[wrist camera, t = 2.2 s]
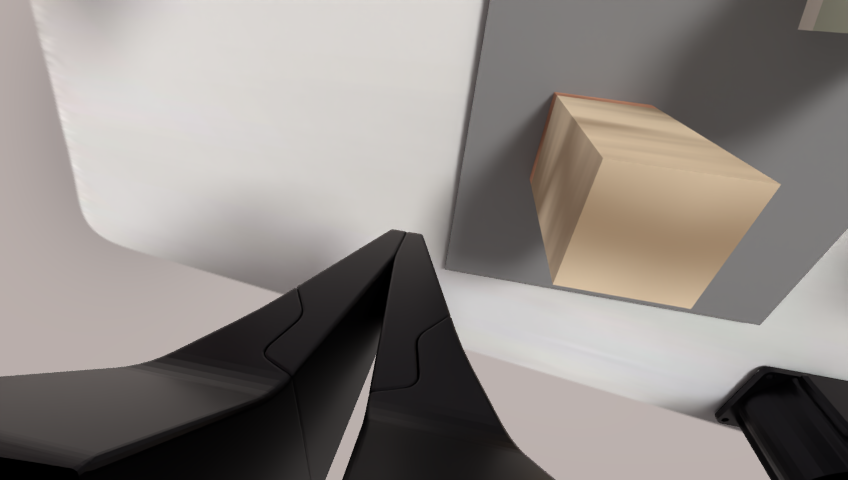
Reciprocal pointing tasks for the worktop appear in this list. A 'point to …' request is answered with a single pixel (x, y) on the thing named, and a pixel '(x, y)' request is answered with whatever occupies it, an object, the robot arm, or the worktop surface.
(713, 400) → the worktop surface
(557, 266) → the beech block
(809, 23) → the sage block
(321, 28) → the worktop surface
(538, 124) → the mat
